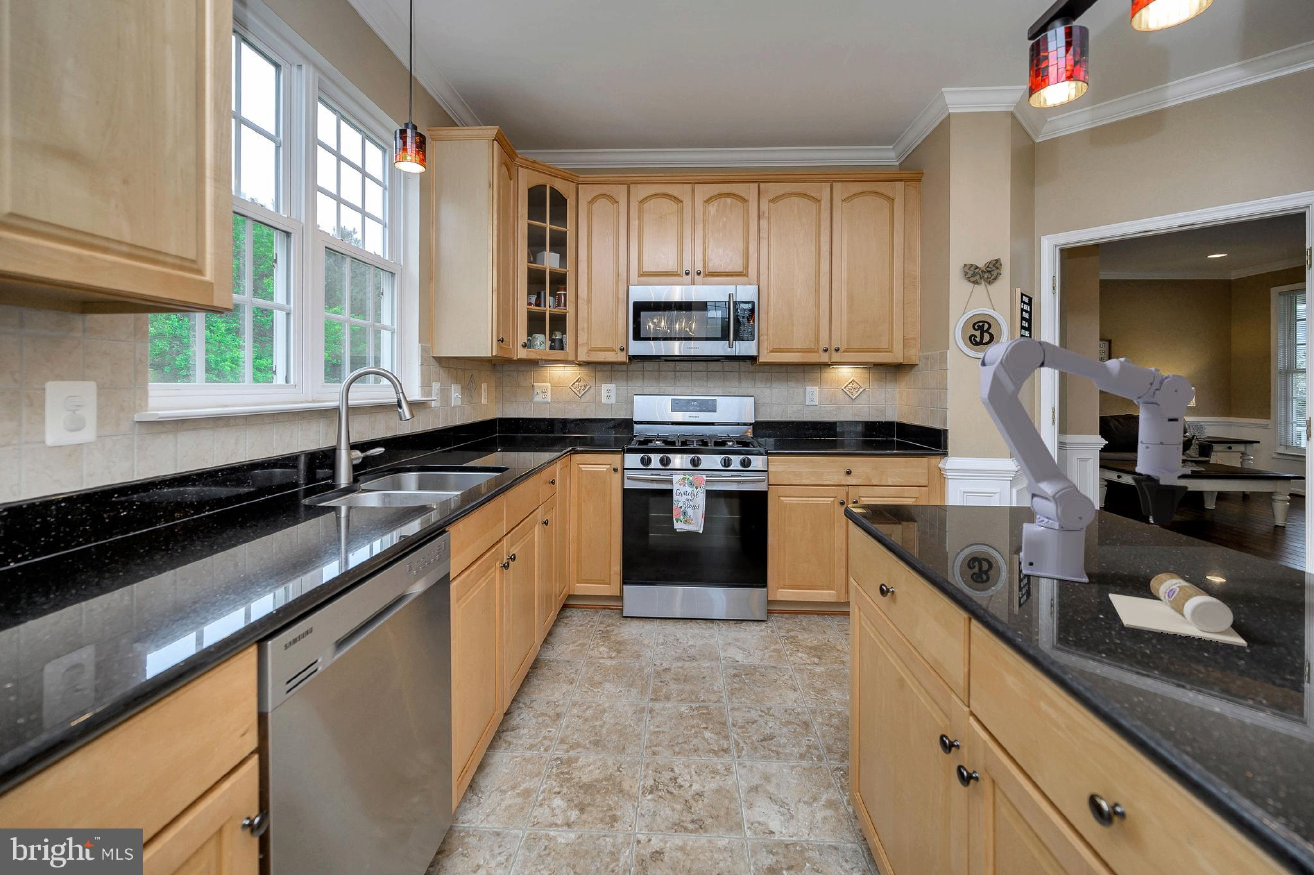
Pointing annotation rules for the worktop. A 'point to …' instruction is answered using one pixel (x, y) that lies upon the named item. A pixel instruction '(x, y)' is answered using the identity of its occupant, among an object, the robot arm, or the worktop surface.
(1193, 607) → the sprinkles bottle
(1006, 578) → the worktop surface
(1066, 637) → the worktop surface
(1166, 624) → the silicone mat
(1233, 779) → the worktop surface
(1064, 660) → the worktop surface
